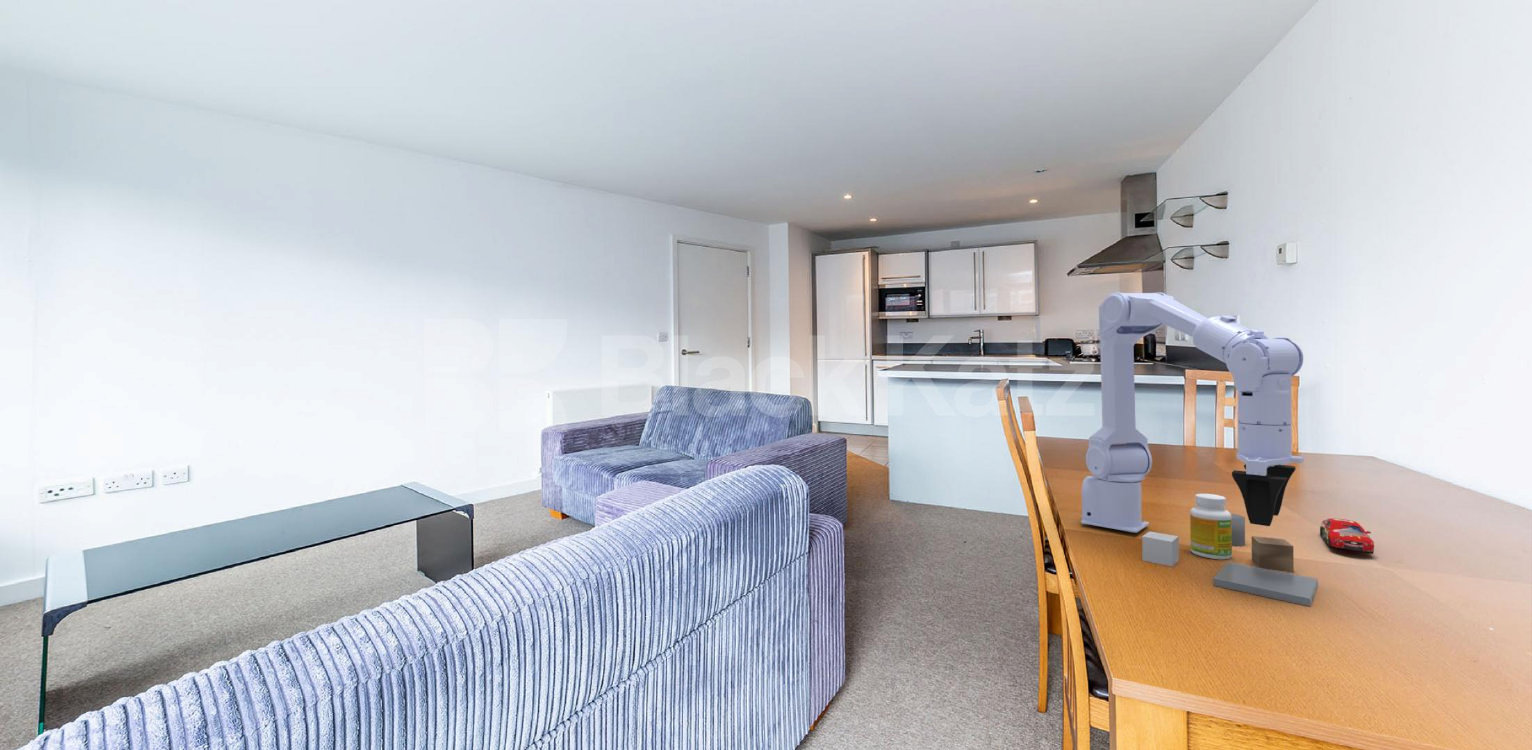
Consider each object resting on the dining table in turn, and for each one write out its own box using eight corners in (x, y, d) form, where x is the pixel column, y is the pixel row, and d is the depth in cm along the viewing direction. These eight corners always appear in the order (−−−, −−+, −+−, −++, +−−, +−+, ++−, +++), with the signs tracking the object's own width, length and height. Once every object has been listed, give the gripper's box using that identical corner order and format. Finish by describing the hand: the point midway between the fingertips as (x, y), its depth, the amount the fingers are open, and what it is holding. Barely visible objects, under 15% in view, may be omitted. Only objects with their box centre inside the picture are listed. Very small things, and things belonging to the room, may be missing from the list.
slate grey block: (1213, 544, 99) (1213, 515, 99) (1218, 539, 102) (1217, 511, 102) (1242, 549, 96) (1242, 520, 96) (1247, 544, 99) (1246, 515, 99)
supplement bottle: (1222, 562, 90) (1222, 501, 90) (1184, 553, 95) (1183, 495, 95) (1238, 556, 93) (1237, 497, 93) (1199, 547, 98) (1199, 491, 98)
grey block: (1142, 560, 92) (1142, 536, 92) (1149, 555, 94) (1149, 531, 94) (1172, 567, 89) (1171, 541, 89) (1178, 561, 91) (1178, 536, 91)
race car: (1377, 558, 89) (1377, 532, 89) (1329, 551, 93) (1329, 526, 93) (1361, 540, 99) (1361, 517, 99) (1318, 534, 103) (1318, 512, 103)
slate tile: (1213, 585, 81) (1213, 578, 81) (1227, 567, 88) (1227, 561, 88) (1310, 606, 74) (1310, 598, 74) (1317, 585, 80) (1317, 578, 80)
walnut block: (1259, 568, 87) (1259, 542, 87) (1251, 560, 91) (1251, 535, 91) (1293, 572, 86) (1293, 546, 86) (1284, 564, 89) (1284, 539, 89)
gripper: (1296, 429, 73) (1296, 535, 73) (1308, 421, 82) (1308, 514, 82) (1226, 426, 78) (1226, 524, 78) (1245, 418, 87) (1245, 506, 88)
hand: (1264, 519), depth 81 cm, fingers open, 7 cm apart
